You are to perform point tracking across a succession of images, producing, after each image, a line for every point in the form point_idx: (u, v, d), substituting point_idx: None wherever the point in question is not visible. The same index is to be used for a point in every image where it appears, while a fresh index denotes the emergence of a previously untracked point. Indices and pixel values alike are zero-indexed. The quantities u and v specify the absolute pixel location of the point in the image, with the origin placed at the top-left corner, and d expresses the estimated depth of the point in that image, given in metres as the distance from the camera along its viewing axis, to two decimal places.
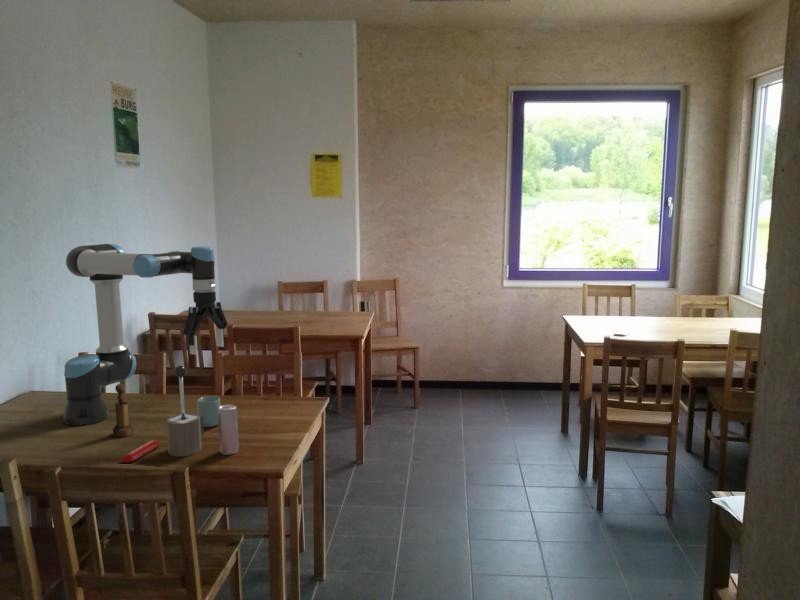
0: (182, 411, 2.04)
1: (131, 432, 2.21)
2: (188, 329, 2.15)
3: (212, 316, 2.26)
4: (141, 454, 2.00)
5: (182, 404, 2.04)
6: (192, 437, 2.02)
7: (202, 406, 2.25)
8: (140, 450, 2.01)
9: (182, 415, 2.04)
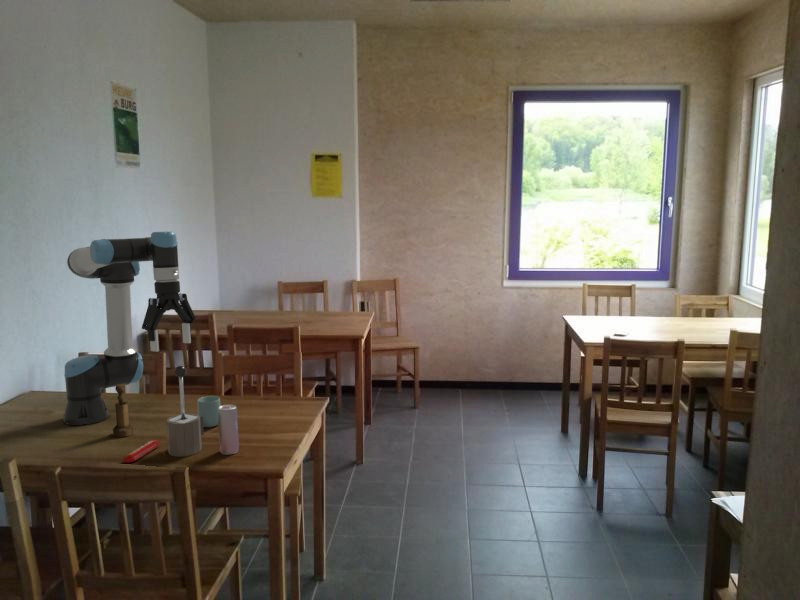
0: (182, 411, 2.04)
1: (131, 432, 2.21)
2: (147, 323, 1.92)
3: (177, 309, 2.04)
4: (142, 454, 2.00)
5: (182, 404, 2.04)
6: (192, 437, 2.02)
7: (202, 406, 2.25)
8: (141, 450, 2.01)
9: (182, 415, 2.04)
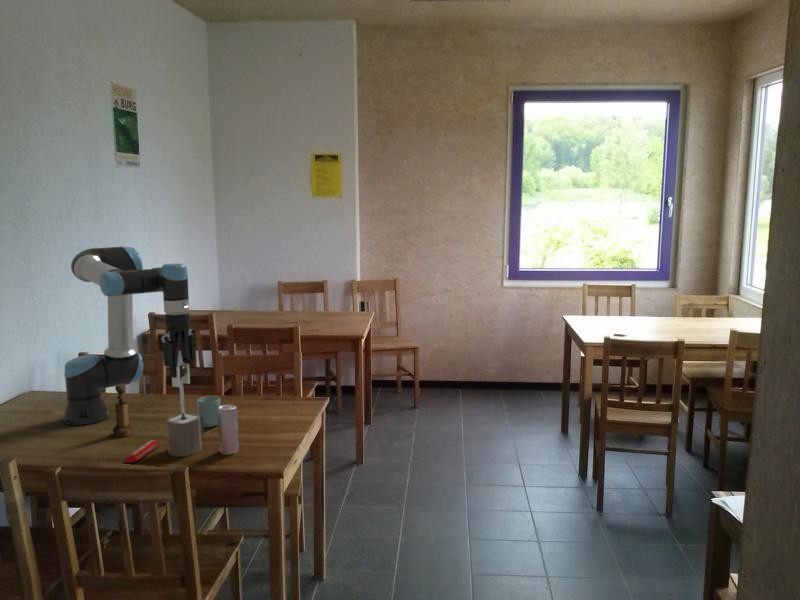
0: (182, 411, 2.04)
1: (131, 432, 2.21)
2: (168, 361, 1.97)
3: (182, 343, 2.02)
4: (144, 454, 2.01)
5: (182, 404, 2.04)
6: (192, 437, 2.02)
7: (202, 406, 2.25)
8: (143, 450, 2.01)
9: (182, 415, 2.04)
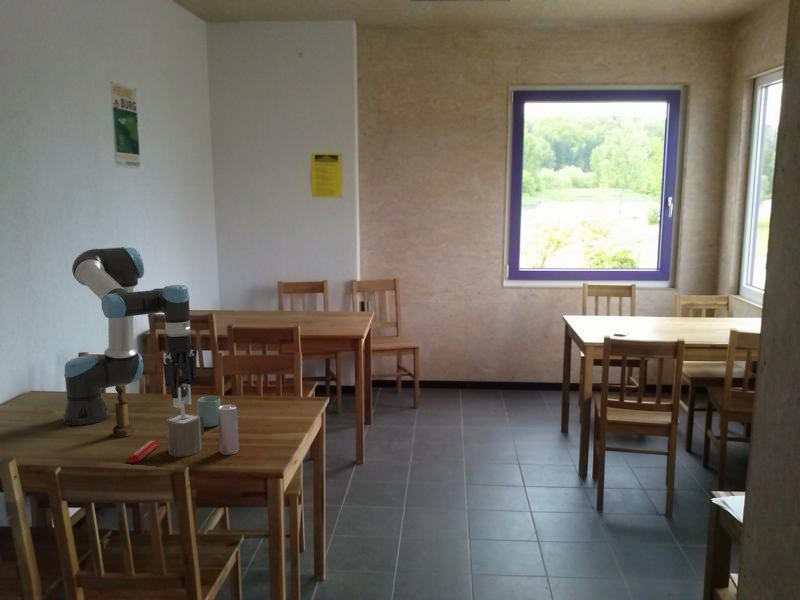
0: None
1: (131, 432, 2.21)
2: (169, 382, 1.98)
3: (183, 364, 2.03)
4: (145, 454, 2.01)
5: None
6: (192, 437, 2.02)
7: (202, 406, 2.25)
8: (144, 450, 2.01)
9: None
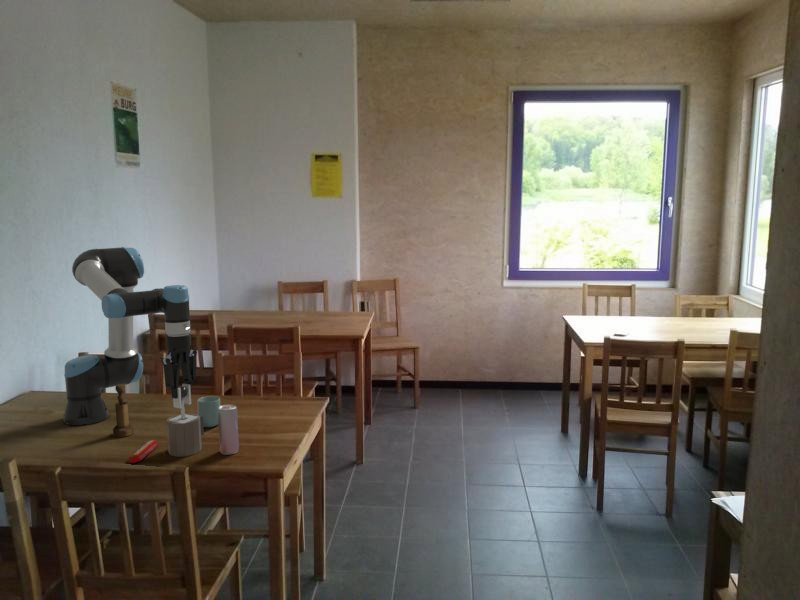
0: None
1: (131, 432, 2.21)
2: (169, 382, 1.98)
3: (183, 364, 2.03)
4: (146, 454, 2.01)
5: None
6: (192, 437, 2.02)
7: (202, 406, 2.25)
8: (144, 450, 2.01)
9: None
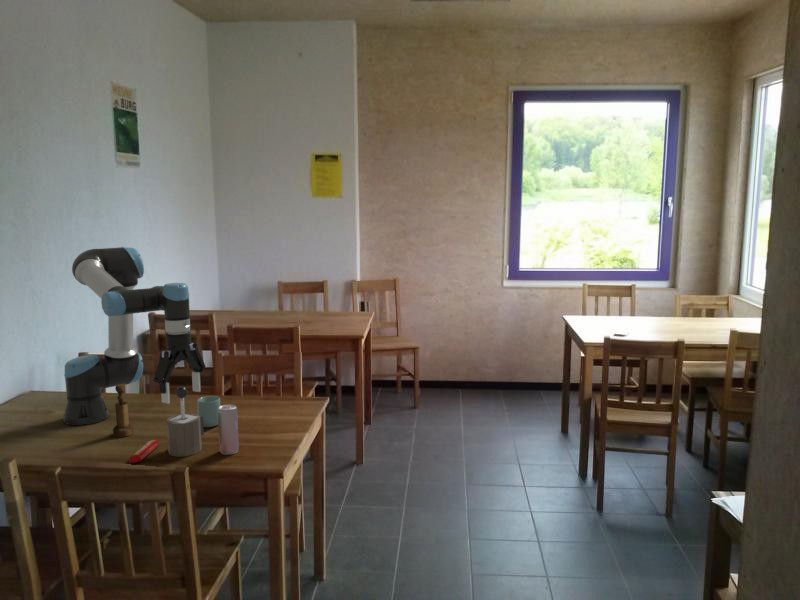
0: None
1: (131, 432, 2.21)
2: (159, 376, 1.94)
3: (187, 359, 2.05)
4: (146, 454, 2.01)
5: None
6: (192, 437, 2.02)
7: (202, 406, 2.25)
8: (145, 450, 2.01)
9: None
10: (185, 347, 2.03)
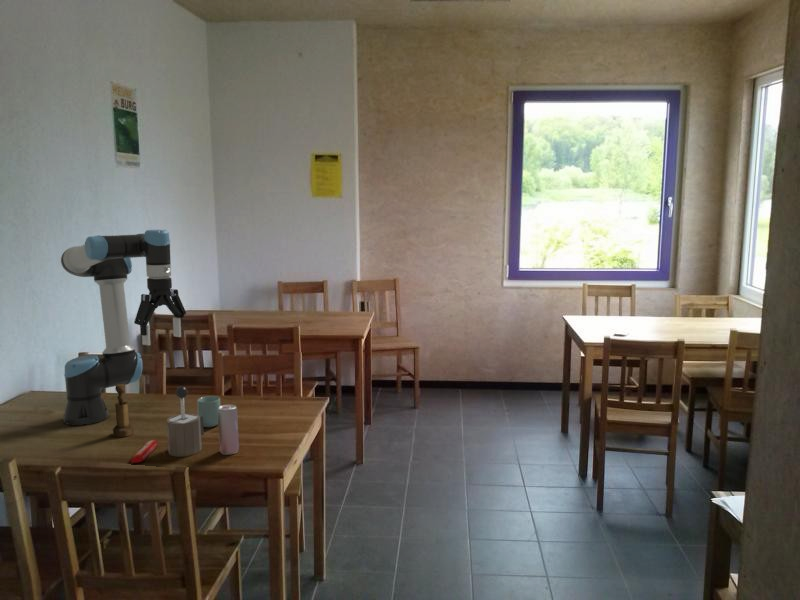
0: None
1: (131, 432, 2.21)
2: (140, 318, 2.00)
3: (168, 304, 2.12)
4: (147, 454, 2.01)
5: None
6: (192, 437, 2.02)
7: (202, 406, 2.25)
8: (146, 450, 2.01)
9: None
10: (166, 292, 2.09)
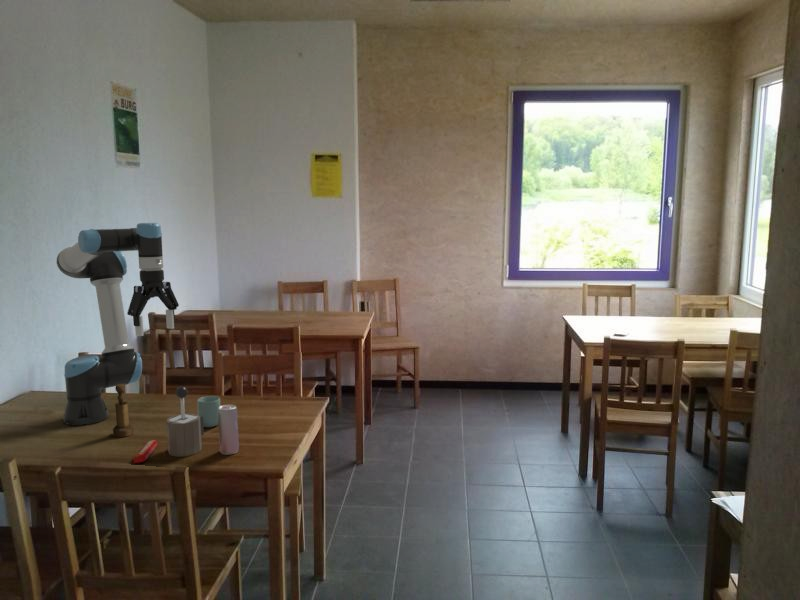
0: None
1: (131, 432, 2.21)
2: (132, 309, 2.04)
3: (161, 296, 2.15)
4: (149, 453, 2.01)
5: None
6: (192, 437, 2.02)
7: (202, 406, 2.25)
8: (148, 449, 2.01)
9: None
10: (158, 284, 2.13)
